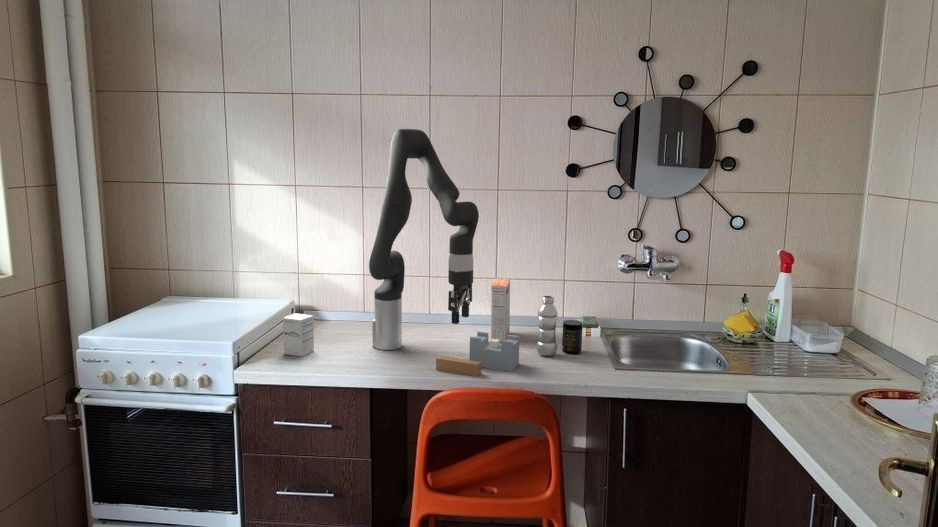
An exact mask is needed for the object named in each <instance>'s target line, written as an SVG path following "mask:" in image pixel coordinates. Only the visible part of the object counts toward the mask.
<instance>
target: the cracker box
mask: <svg viewBox="0 0 938 527" xmlns="http://www.w3.org/2000/svg"><path fill="white" fill-rule="evenodd" d="M494 278H495V279H494V280H493V282H492V284H491V294H490V295H491V296H490V298H491V300H490V302H491V306H490V308H491V309H490V310H491V314H490V317H491V320H490V322H491V323H490V327H491V328H490V330H491V331H490V333H491V334H490V340H492V339H500V343H502V340H505V341H507V340H508V335H510V323H511V322H510V321H511V320H510V319H511V317H510V315H511V314H510V313H511V312H510V311H511V309H510V308H511V306H510V305H511V301H510V300H511V278H504V277H494Z"/></svg>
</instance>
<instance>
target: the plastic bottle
mask: <svg viewBox="0 0 938 527" xmlns="http://www.w3.org/2000/svg"><path fill="white" fill-rule="evenodd" d="M541 303H542V304H541V305H540V306H539V308H538V310H537V319H538V339H537V344H536V352H537V354H538V355H540V356H544V357H552V356H554V355H556V353H557V350H558V346H557V340H556V327H557V326H556V325H557V321H558V320H557V319H558V310H557V307H556V306H555V304H554V303H555V297H554V296H551V295H544V296H542V301H541Z"/></svg>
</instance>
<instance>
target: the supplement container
mask: <svg viewBox="0 0 938 527" xmlns="http://www.w3.org/2000/svg"><path fill="white" fill-rule="evenodd" d="M583 326H584V322H583V321H580V320H578V319H577V320H575V319H565V320H563V321H562V334H561V336H562V337H561V338H562V339H561V340H562V341H561V352H563V353H564V354H567V355H573V356H574V355H579V354H581V353H582V350H583V349H582V348H583V347H582V346H583V328H584V327H583Z"/></svg>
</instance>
